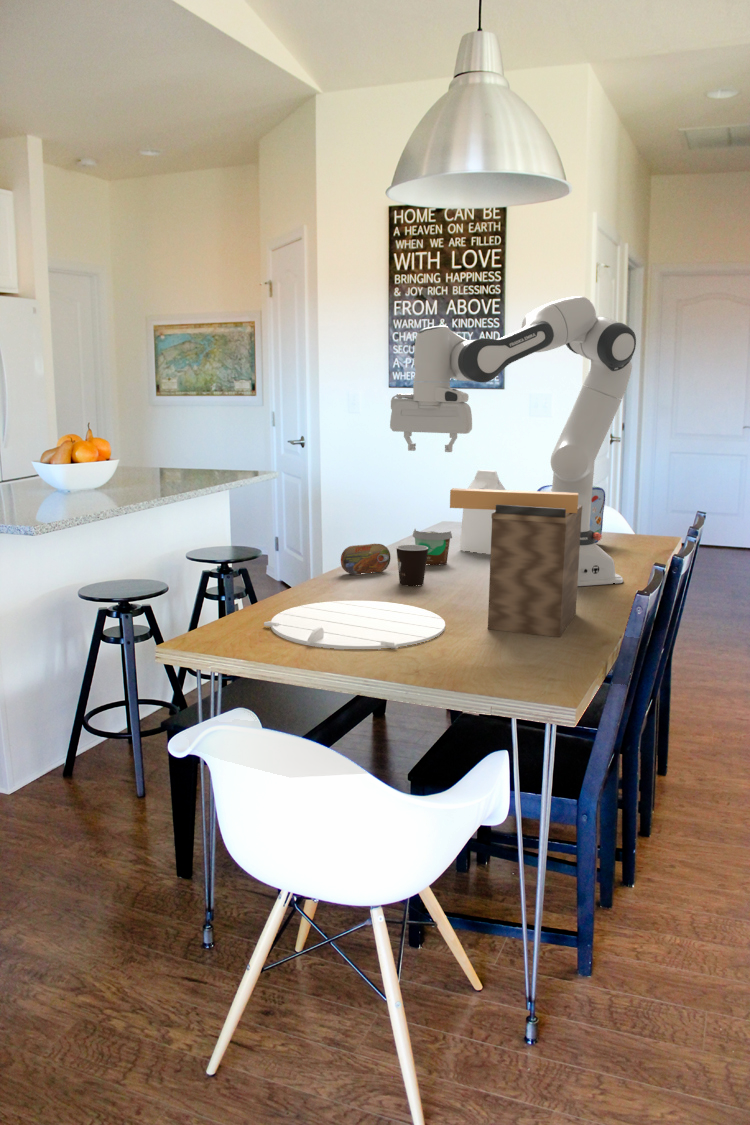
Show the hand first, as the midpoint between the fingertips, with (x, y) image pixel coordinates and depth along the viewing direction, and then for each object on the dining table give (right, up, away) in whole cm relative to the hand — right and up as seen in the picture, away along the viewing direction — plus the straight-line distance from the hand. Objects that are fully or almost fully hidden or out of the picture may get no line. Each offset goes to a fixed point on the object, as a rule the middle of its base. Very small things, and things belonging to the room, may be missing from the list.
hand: (430, 451), depth 225 cm
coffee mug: (-3, -33, +25) cm, 41 cm away
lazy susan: (-18, -42, -19) cm, 49 cm away
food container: (+3, -28, +51) cm, 58 cm away
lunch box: (+52, -22, +85) cm, 102 cm away
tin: (-16, -31, +37) cm, 50 cm away
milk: (+22, -24, +74) cm, 81 cm away
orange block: (+17, -15, -21) cm, 31 cm away
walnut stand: (+23, -41, -14) cm, 49 cm away
